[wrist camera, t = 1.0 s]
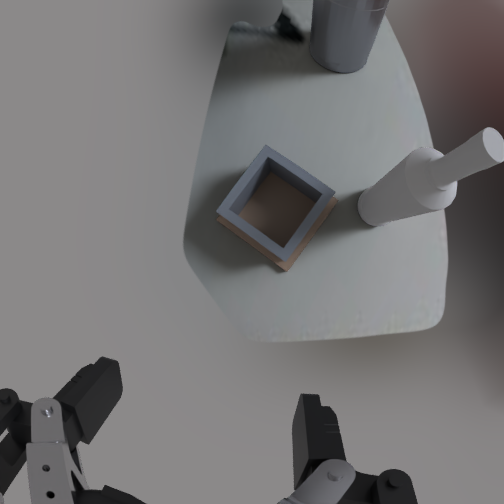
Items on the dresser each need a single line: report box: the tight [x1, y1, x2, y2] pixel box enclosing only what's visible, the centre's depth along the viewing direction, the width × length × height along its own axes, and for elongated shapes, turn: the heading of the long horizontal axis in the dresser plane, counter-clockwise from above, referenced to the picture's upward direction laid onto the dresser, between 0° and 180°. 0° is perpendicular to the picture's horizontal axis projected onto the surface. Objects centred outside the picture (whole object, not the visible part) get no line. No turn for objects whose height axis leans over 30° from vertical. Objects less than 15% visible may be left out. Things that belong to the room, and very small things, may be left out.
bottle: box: [357, 127, 504, 226], centre depth 23 cm, size 5×5×25 cm
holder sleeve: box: [216, 145, 338, 272], centre depth 33 cm, size 11×11×7 cm
